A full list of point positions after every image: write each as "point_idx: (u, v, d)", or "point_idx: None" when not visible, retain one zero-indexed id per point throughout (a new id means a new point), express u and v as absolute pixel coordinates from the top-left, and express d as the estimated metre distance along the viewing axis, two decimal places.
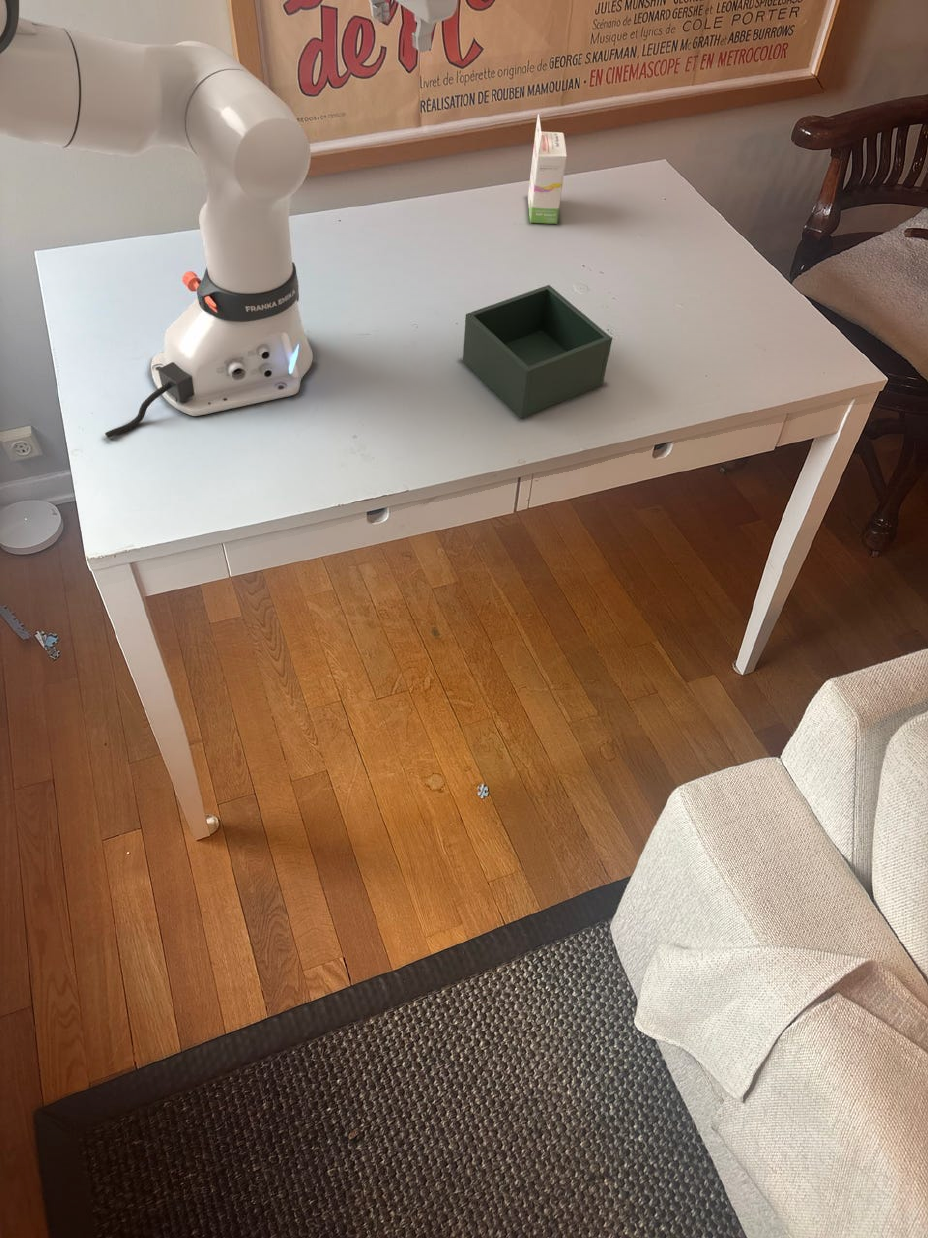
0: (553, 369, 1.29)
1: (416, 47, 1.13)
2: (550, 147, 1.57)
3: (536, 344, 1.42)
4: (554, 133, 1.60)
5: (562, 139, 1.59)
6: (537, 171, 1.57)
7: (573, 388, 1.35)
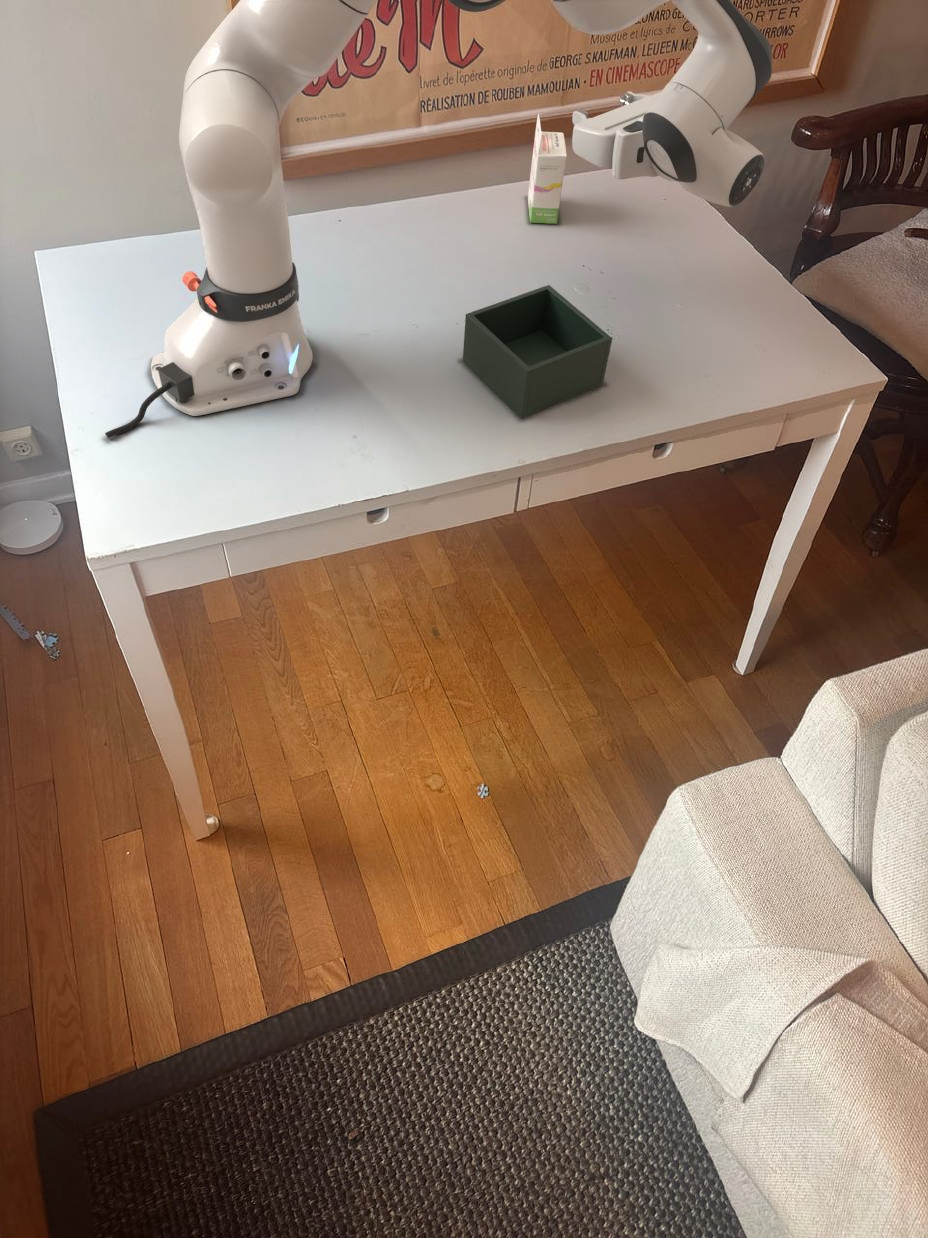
0: (553, 369, 1.29)
1: None
2: (550, 147, 1.57)
3: (536, 344, 1.42)
4: (554, 133, 1.60)
5: (562, 139, 1.59)
6: (537, 171, 1.57)
7: (573, 388, 1.35)
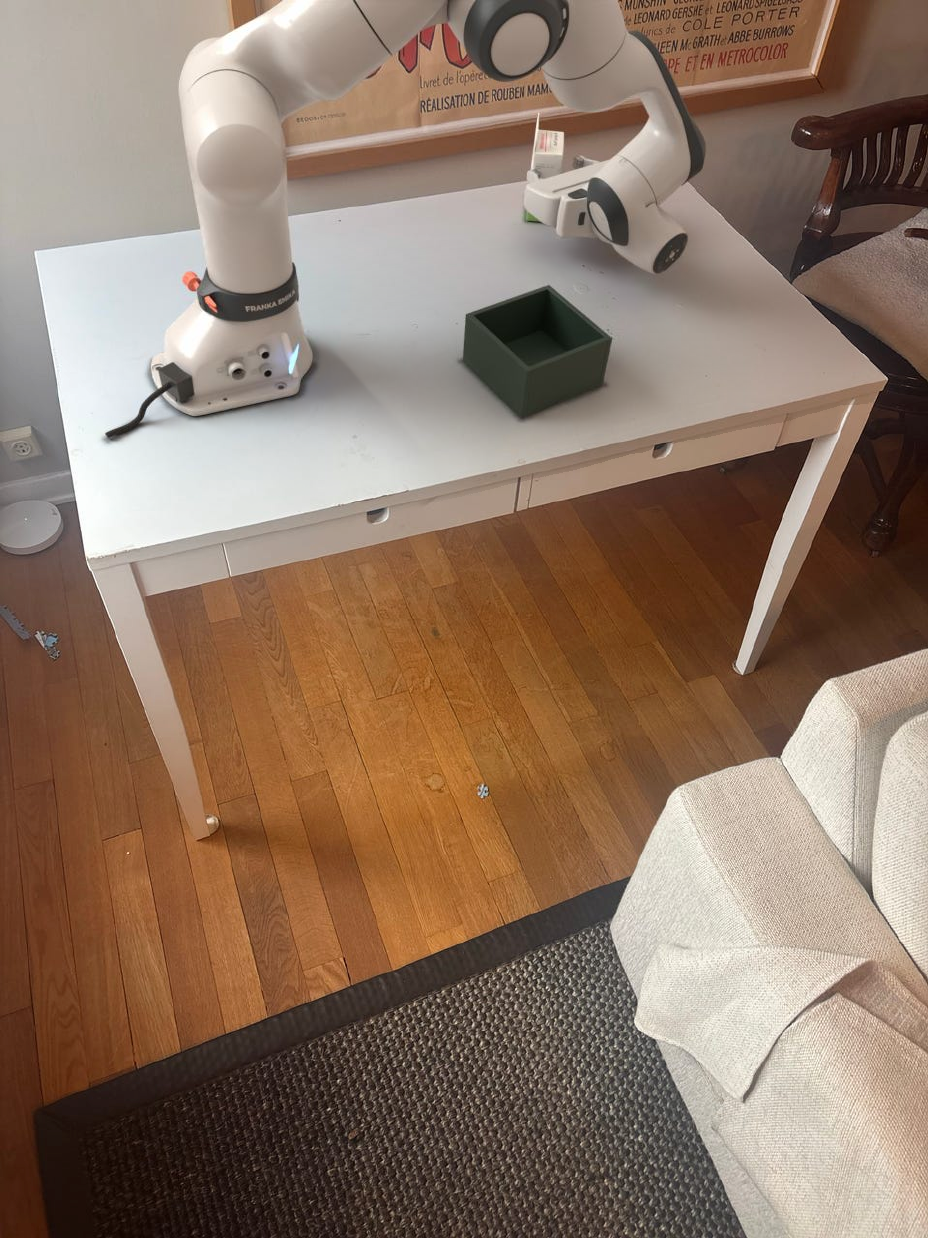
0: (553, 369, 1.29)
1: (531, 170, 1.57)
2: (547, 145, 1.57)
3: (536, 344, 1.42)
4: (554, 132, 1.60)
5: (561, 138, 1.59)
6: None
7: (573, 388, 1.35)
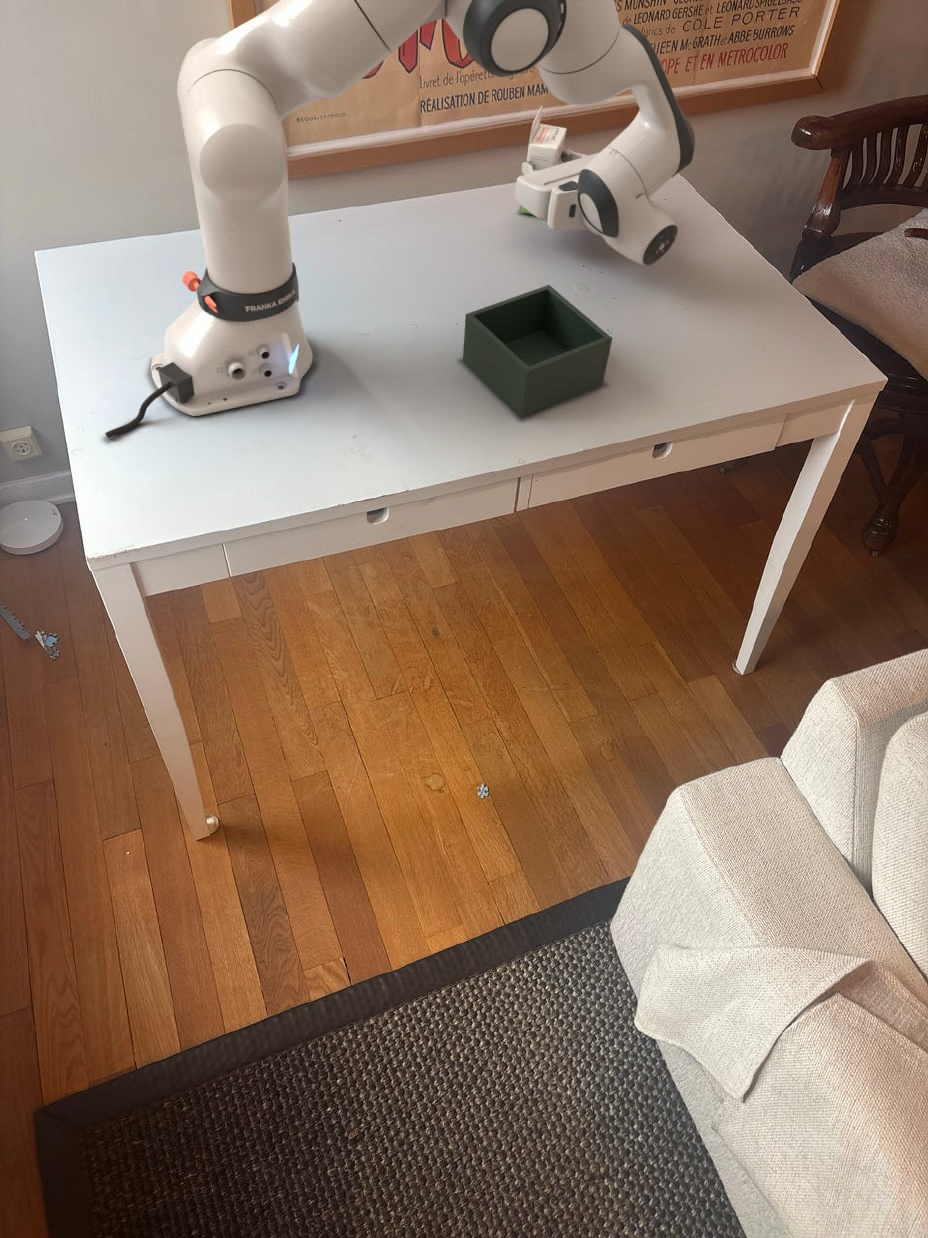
0: (553, 369, 1.29)
1: None
2: (545, 139, 1.58)
3: (536, 344, 1.42)
4: (557, 127, 1.61)
5: (561, 134, 1.60)
6: (528, 160, 1.59)
7: (573, 388, 1.35)
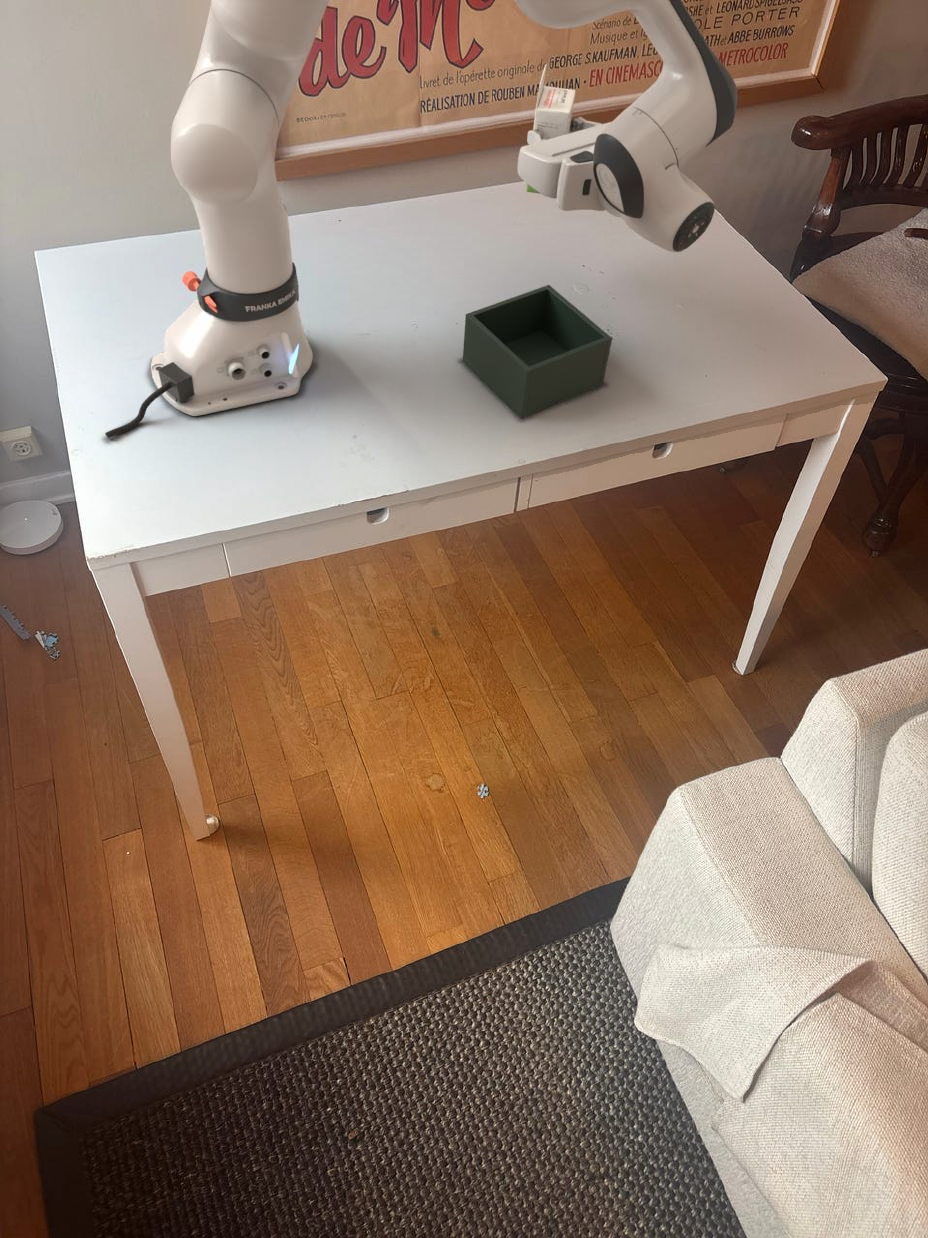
0: (553, 369, 1.29)
1: (533, 130, 1.33)
2: (553, 102, 1.33)
3: (536, 344, 1.42)
4: (564, 89, 1.36)
5: (571, 96, 1.35)
6: None
7: (573, 388, 1.35)
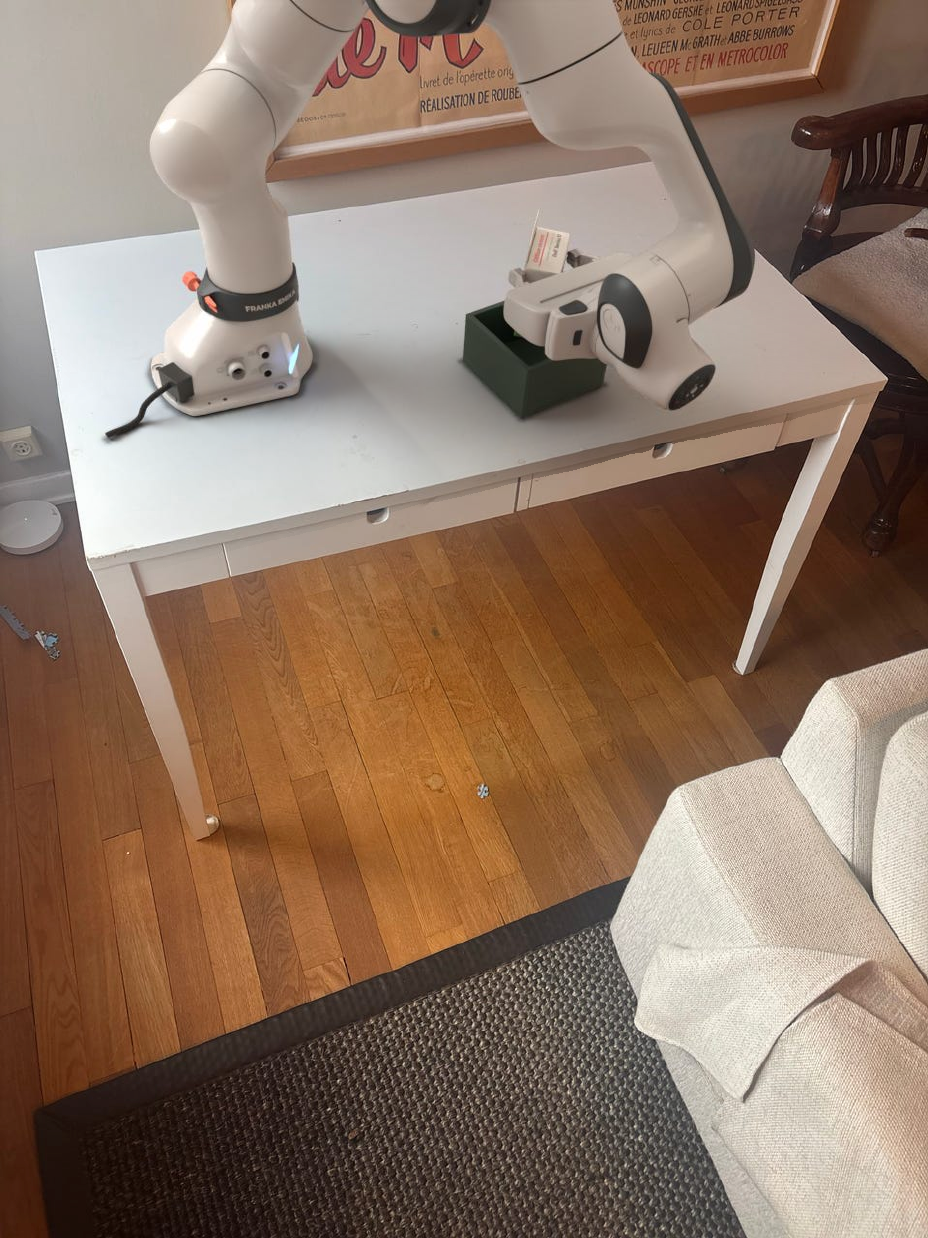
0: (553, 369, 1.29)
1: (514, 269, 1.24)
2: (544, 257, 1.24)
3: None
4: (558, 233, 1.27)
5: (564, 245, 1.26)
6: None
7: (573, 388, 1.35)
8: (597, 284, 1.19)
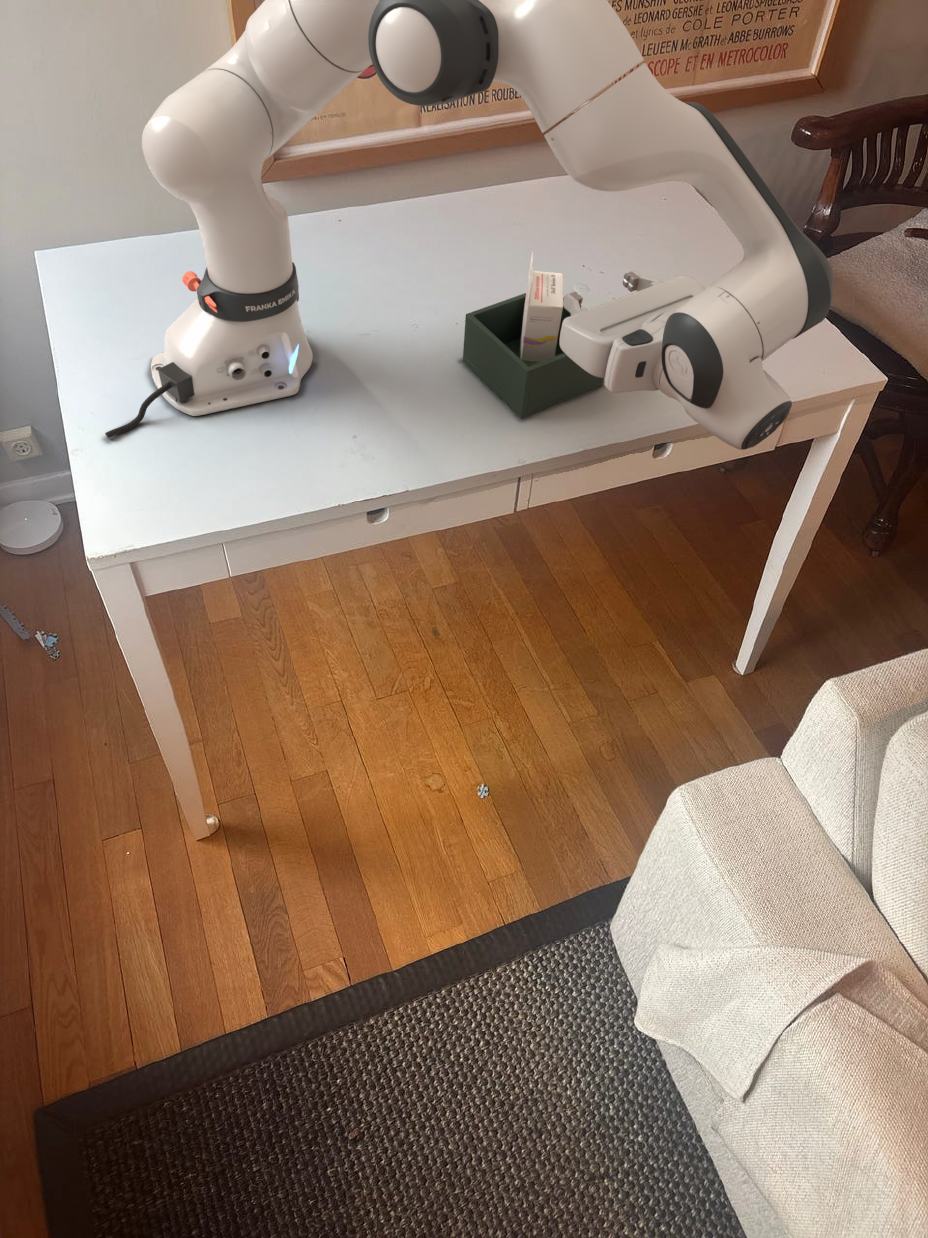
0: (553, 369, 1.29)
1: (570, 294, 1.15)
2: (544, 294, 1.30)
3: None
4: (551, 274, 1.33)
5: (560, 283, 1.32)
6: (527, 322, 1.30)
7: (573, 388, 1.35)
8: (661, 311, 1.11)
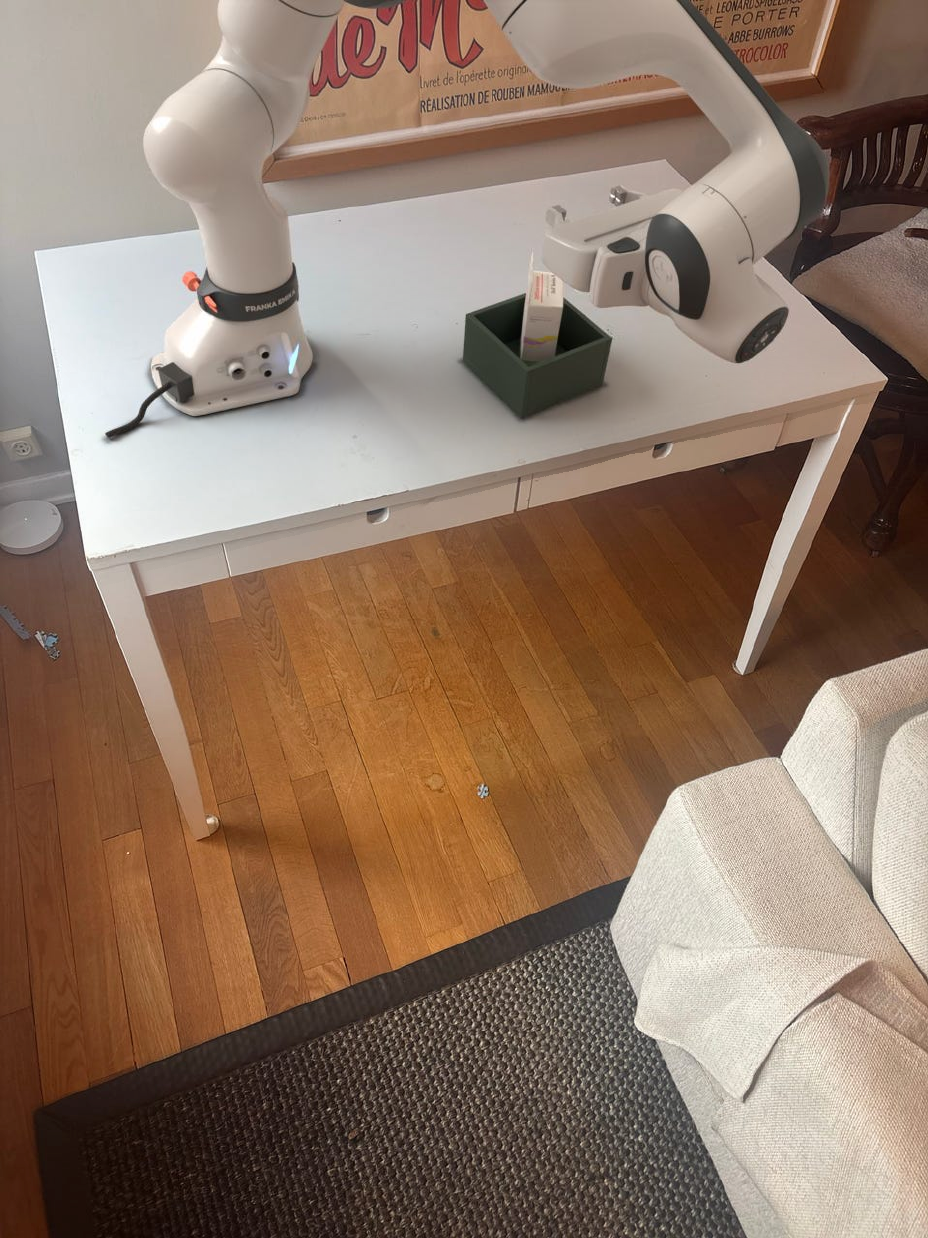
0: (553, 369, 1.29)
1: (553, 207, 1.09)
2: (544, 294, 1.30)
3: None
4: (551, 274, 1.33)
5: (560, 283, 1.32)
6: (527, 322, 1.30)
7: (573, 388, 1.35)
8: (649, 220, 1.04)
